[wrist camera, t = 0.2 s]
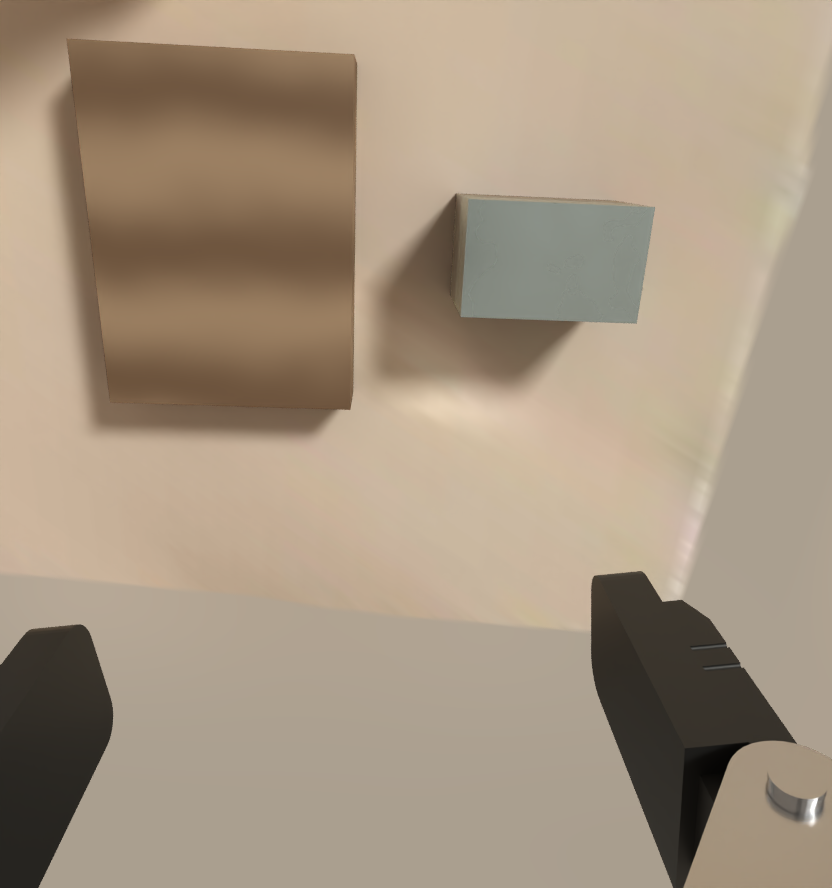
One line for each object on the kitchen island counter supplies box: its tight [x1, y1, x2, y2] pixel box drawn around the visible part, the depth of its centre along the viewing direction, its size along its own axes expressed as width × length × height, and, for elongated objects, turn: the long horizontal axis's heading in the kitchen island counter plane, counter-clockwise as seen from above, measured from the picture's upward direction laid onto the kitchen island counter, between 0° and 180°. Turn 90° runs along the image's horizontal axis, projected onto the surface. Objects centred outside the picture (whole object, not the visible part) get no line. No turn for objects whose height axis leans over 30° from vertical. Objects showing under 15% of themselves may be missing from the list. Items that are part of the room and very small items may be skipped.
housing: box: [450, 194, 655, 324], centre depth 34 cm, size 5×8×6 cm, turn 87°
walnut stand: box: [67, 39, 357, 410], centre depth 34 cm, size 16×12×3 cm
